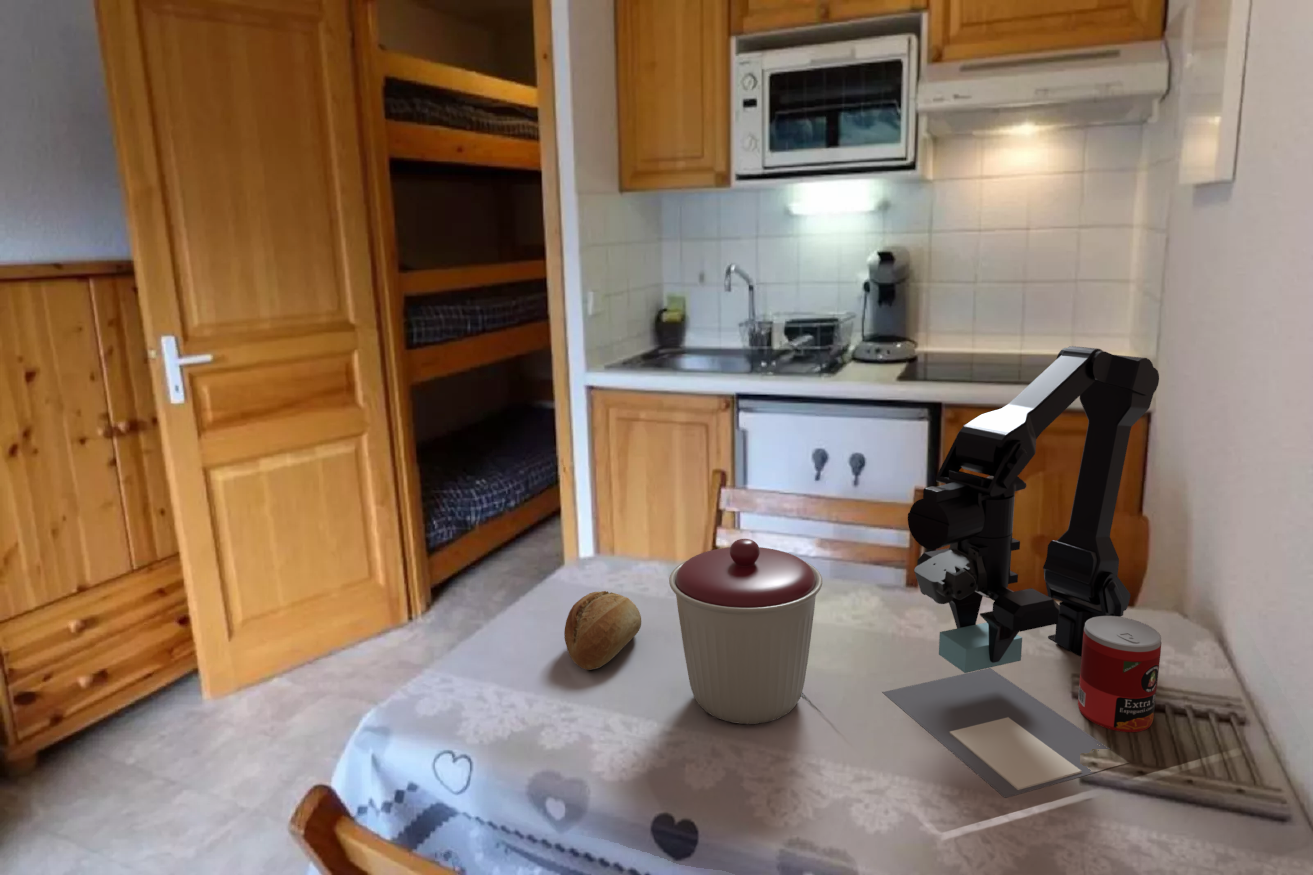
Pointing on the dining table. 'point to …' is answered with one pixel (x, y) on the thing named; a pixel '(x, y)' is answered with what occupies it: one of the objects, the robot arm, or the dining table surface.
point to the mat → (998, 730)
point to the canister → (746, 629)
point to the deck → (974, 648)
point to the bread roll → (600, 628)
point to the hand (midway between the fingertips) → (979, 651)
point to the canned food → (1119, 673)
